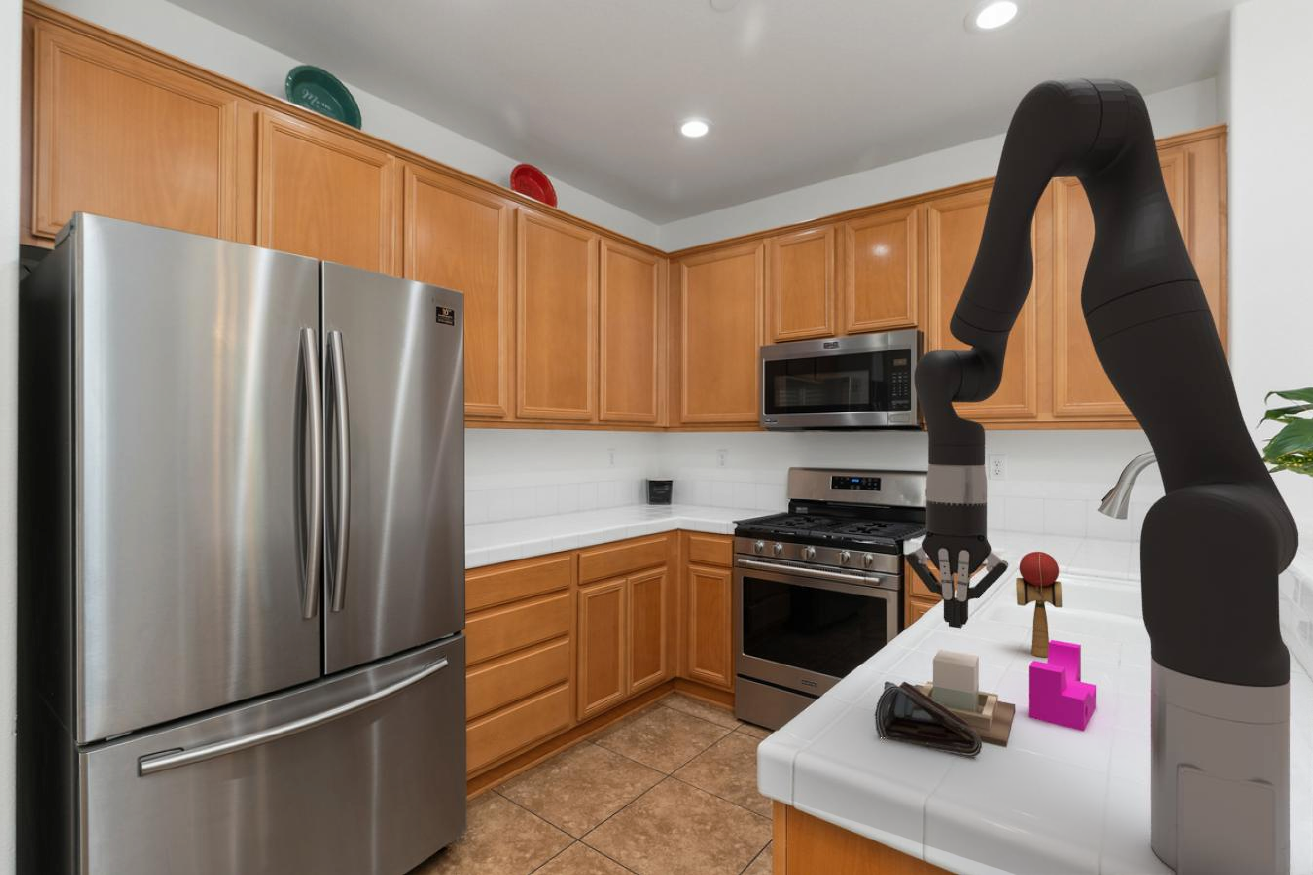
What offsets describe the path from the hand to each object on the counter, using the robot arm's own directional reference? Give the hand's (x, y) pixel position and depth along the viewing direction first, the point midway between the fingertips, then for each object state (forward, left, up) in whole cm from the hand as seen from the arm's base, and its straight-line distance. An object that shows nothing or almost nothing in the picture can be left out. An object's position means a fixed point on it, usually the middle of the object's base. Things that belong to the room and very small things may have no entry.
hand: (955, 626), depth 87 cm
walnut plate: (0, 0, -13) cm, 13 cm away
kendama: (+36, -8, -13) cm, 39 cm away
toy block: (+12, -12, -13) cm, 22 cm away
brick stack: (0, 0, -11) cm, 11 cm away
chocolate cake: (-9, -2, -14) cm, 17 cm away
